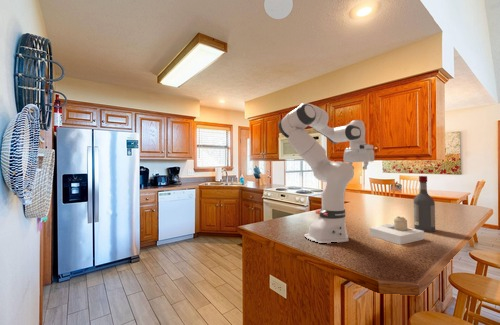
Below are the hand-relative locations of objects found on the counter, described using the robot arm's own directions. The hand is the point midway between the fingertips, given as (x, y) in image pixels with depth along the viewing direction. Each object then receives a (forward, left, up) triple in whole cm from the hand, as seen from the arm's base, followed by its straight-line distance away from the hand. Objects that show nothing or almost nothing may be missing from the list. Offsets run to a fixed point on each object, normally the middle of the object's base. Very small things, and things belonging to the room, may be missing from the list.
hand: (358, 169), depth 141 cm
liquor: (+24, -23, -34) cm, 48 cm away
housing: (-3, -25, -34) cm, 42 cm away
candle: (0, -26, -34) cm, 43 cm away
